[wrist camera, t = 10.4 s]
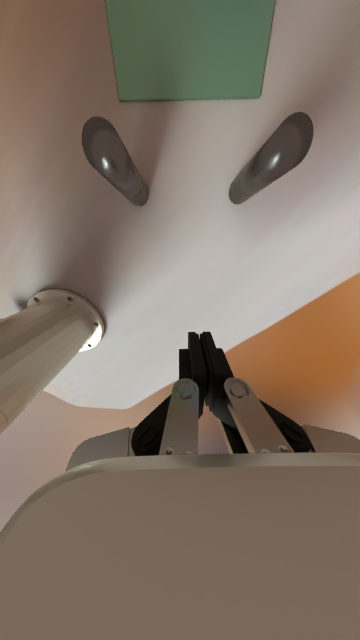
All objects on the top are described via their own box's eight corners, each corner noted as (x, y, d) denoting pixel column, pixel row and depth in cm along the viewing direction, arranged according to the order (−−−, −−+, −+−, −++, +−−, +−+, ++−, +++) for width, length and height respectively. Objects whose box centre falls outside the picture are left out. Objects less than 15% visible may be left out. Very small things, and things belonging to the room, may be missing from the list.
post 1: (129, 206, 18) (89, 174, 10) (125, 179, 16) (75, 117, 9) (149, 206, 18) (125, 174, 10) (146, 178, 16) (117, 116, 9)
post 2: (227, 204, 18) (266, 170, 10) (230, 176, 16) (278, 112, 9) (247, 204, 18) (303, 170, 10) (252, 176, 16) (320, 111, 9)
